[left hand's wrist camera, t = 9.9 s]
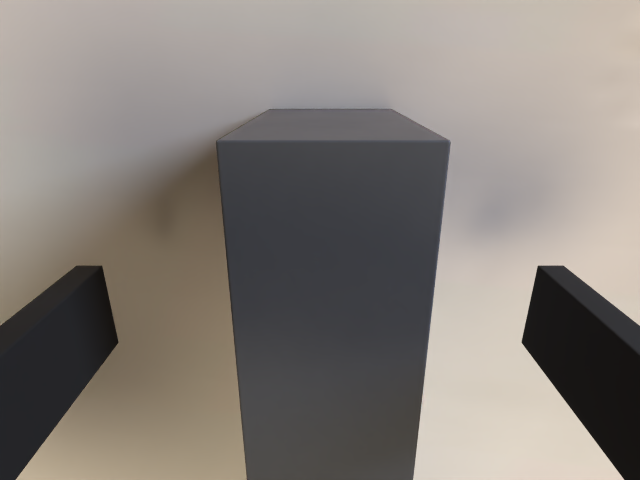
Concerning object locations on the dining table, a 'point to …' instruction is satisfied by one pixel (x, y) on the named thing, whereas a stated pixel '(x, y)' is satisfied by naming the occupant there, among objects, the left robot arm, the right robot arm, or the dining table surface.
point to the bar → (331, 287)
